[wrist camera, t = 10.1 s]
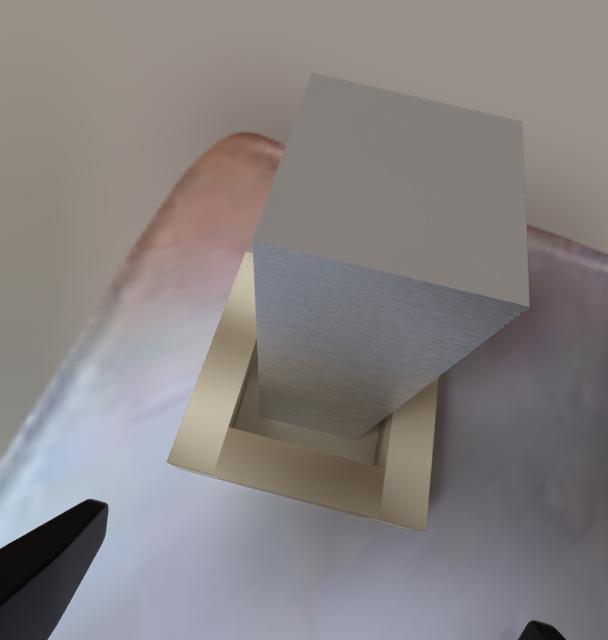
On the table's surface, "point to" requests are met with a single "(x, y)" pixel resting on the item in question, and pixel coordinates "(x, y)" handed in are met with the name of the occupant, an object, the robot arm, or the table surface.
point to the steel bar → (383, 252)
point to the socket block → (300, 435)
